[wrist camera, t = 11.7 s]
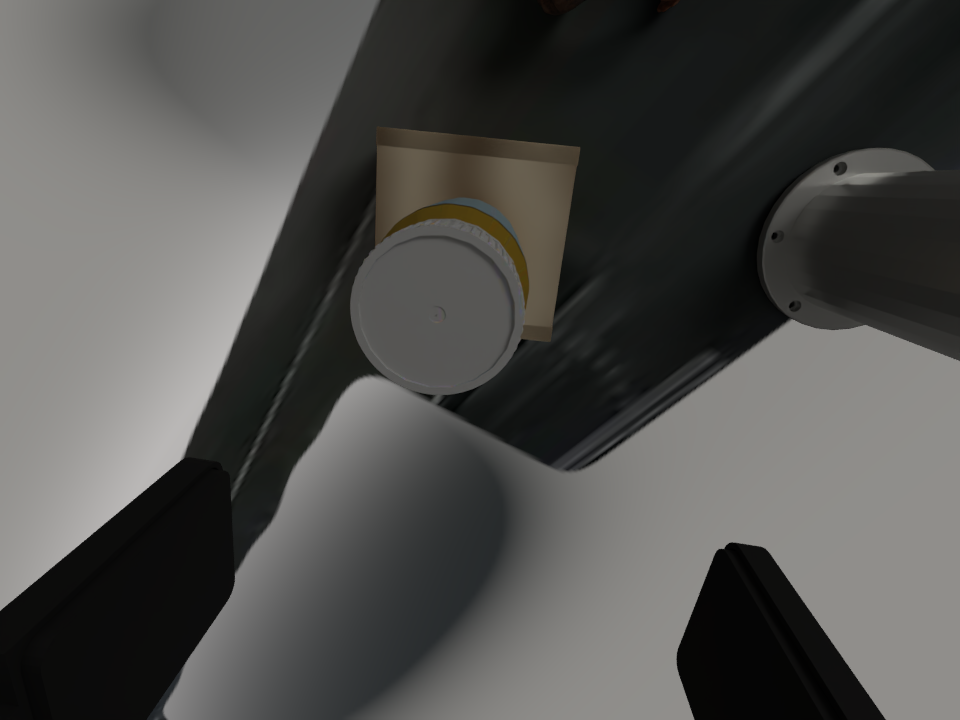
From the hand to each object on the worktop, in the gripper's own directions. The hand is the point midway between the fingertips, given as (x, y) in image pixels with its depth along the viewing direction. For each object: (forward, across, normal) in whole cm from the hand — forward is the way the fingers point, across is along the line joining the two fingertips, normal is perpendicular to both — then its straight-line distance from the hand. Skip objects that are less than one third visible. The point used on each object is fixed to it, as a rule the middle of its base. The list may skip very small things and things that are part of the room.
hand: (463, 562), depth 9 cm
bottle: (+24, +2, -2) cm, 24 cm away
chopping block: (+30, +2, -3) cm, 30 cm away
